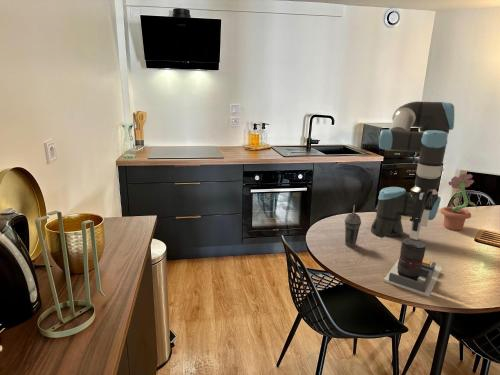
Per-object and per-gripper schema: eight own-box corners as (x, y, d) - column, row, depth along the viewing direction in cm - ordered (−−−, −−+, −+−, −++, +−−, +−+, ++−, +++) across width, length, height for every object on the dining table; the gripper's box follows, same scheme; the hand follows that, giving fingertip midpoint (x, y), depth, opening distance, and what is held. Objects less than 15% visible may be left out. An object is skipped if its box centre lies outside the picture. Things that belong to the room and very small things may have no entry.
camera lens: (418, 286, 127) (425, 249, 123) (395, 280, 131) (401, 244, 126) (419, 276, 134) (426, 240, 129) (397, 270, 138) (403, 236, 133)
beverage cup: (359, 243, 163) (364, 203, 157) (357, 249, 157) (362, 208, 151) (343, 240, 166) (347, 200, 160) (340, 246, 160) (345, 205, 154)
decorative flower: (463, 223, 187) (475, 170, 179) (474, 234, 174) (487, 177, 166) (434, 221, 190) (444, 168, 181) (443, 231, 177) (454, 175, 168)
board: (383, 281, 132) (384, 272, 131) (400, 257, 150) (402, 249, 149) (429, 296, 123) (431, 287, 121) (441, 269, 141) (443, 260, 140)
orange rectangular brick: (406, 264, 142) (407, 258, 141) (408, 261, 145) (409, 255, 144) (428, 270, 138) (429, 264, 137) (429, 267, 140) (430, 261, 139)
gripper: (432, 186, 108) (421, 247, 115) (446, 170, 127) (436, 223, 133) (407, 182, 112) (398, 241, 119) (424, 167, 131) (415, 218, 138)
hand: (418, 232), depth 126 cm, fingers open, 13 cm apart
